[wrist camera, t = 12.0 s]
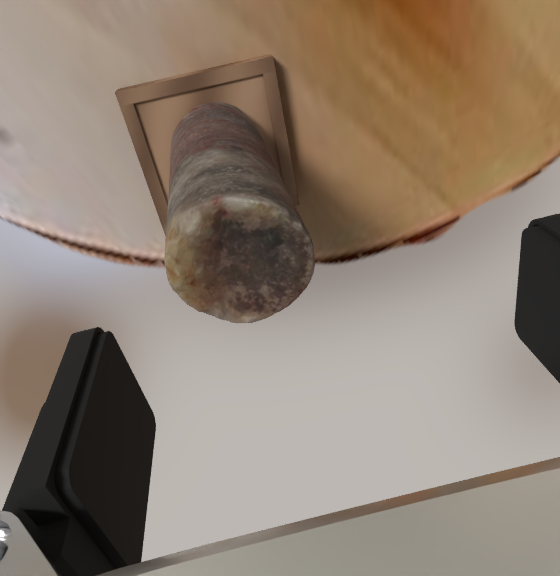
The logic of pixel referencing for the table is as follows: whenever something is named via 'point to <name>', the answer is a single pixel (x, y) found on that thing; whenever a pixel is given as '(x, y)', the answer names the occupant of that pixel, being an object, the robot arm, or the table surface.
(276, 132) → the picture frame
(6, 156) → the table surface
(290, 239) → the grey brown rough cylinder
